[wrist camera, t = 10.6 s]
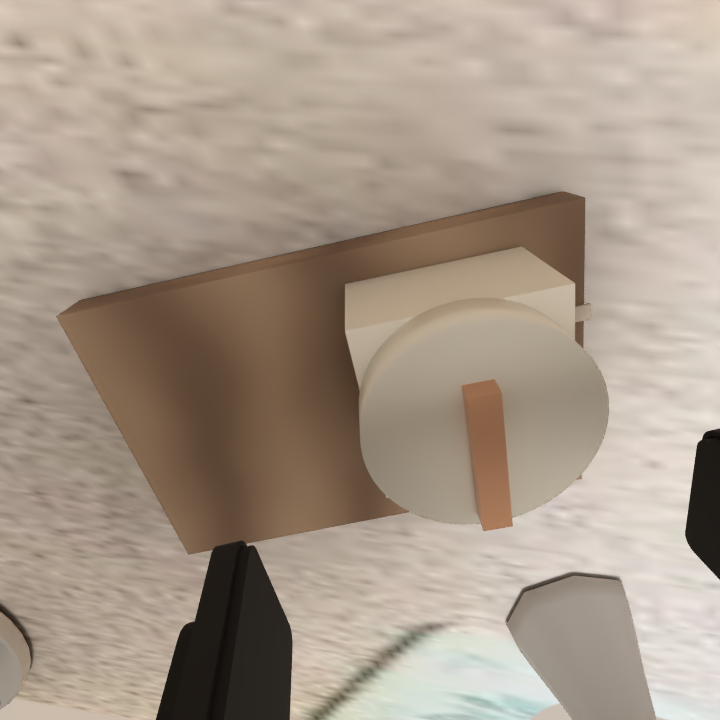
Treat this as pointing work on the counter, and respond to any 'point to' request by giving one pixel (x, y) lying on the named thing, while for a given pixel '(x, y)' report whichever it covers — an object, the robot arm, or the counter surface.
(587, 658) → the flask
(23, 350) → the counter surface
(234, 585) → the robot arm
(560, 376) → the knob
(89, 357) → the hub board
